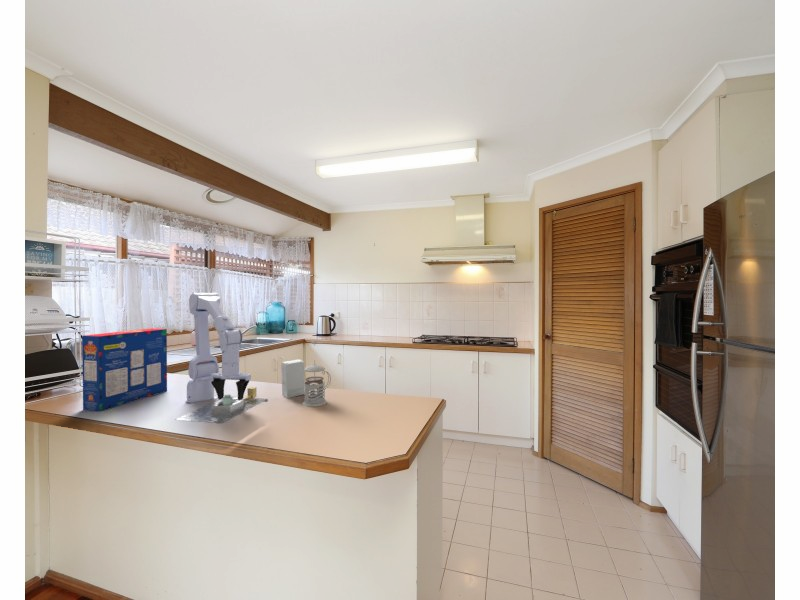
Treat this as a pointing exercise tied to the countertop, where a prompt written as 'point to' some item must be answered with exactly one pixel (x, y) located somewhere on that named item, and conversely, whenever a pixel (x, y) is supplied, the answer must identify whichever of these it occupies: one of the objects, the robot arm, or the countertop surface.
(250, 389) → the pin
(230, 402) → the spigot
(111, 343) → the blue flat upright box
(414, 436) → the countertop surface
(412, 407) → the countertop surface
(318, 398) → the french press
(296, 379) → the skincare box
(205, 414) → the dock
